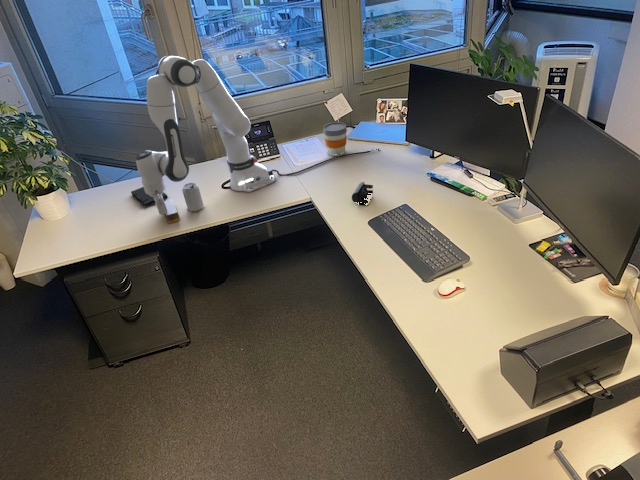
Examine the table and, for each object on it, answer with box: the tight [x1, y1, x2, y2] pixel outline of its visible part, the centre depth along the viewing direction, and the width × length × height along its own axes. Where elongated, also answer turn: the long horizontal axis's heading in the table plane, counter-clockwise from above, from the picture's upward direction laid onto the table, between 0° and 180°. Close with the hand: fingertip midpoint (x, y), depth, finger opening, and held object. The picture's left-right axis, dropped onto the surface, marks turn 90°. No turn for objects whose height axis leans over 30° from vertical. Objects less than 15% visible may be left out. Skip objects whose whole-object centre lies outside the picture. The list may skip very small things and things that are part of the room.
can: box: [181, 182, 204, 212], centre depth 215 cm, size 8×8×12 cm
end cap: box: [351, 181, 374, 207], centre depth 208 cm, size 10×7×7 cm
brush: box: [164, 198, 180, 224], centre depth 214 cm, size 5×14×4 cm, turn 25°
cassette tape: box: [130, 186, 168, 208], centre depth 231 cm, size 18×12×2 cm, turn 40°
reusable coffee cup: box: [322, 121, 348, 157], centre depth 250 cm, size 13×13×15 cm
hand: (163, 213), depth 213 cm, fingers closed, pressing on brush
